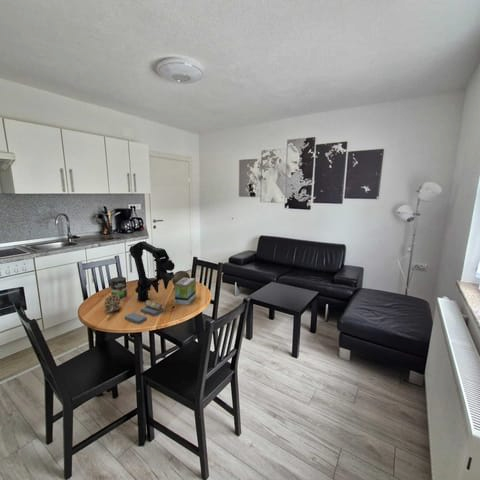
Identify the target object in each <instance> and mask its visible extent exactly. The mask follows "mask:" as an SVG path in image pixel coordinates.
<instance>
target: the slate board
mask: <svg viewBox="0 0 480 480" xmlns="http://www.w3.org/2000/svg"><path fill="white" fill-rule="evenodd" d="M139 310H140V313H143V314H145V315H148V316H152V317H156V316H158V315H159V314H161V313H163V312H164V311H165V308H164V307H162V308H161V309H160V310H157V309H153V308H150V307H147V306H144V307H141V308H139ZM145 315H142V314H138V313H136V312H131V313H128V314H127V315H124V320H125V321H128V322H131V323H134V324H137V325H141V324H142V323H144V322H147V321H148V318H147V316H145Z"/></svg>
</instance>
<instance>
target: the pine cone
mask: <svg viewBox="0 0 480 480" xmlns="http://www.w3.org/2000/svg"><path fill="white" fill-rule="evenodd" d="M119 298H120V297H119V295H118V296H117V294H114V295H113V294H112V295H111V294H110V295H108V296H107V297H106V298H105V301H104V308H105V310H106V312H105V313H106V314H110V313H113V312H116V311H117V310H118V309H119V308H120V306H121V301H122V300H121V299H119Z"/></svg>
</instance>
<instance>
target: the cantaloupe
mask: <svg viewBox="0 0 480 480" xmlns="http://www.w3.org/2000/svg"><path fill="white" fill-rule="evenodd" d="M182 278H191V276H190V274H189V273H188V272H187V271H184V270H179V271H176V272H174V278H172V280H171V282H172V284H173V286H174V287H175V283H177V282H178V281H179V280H181V279H182Z"/></svg>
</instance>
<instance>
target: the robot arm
mask: <svg viewBox="0 0 480 480" xmlns="http://www.w3.org/2000/svg"><path fill="white" fill-rule="evenodd" d="M144 250H145V251H146V252H148V253H149V254H151V255H152V257H153V258H154V259H153V262H155V269H154V272H155V273H156V275H155V276H154V277H153V278H152V277H151V278H148V277H147V274H146V270H145V266H144V262H143V261H144V260H143V255H144ZM128 251H129V254H130V256H131V257H132V258H133V260H134V264H135V269H136V272H137V276H138V280H137V283H136V284H137V286H136V287H135V289H134V290H135V293H137V299H136V301H138V302H142V303H145V302H146V301H147V300H151V297H149V291H151V287H153V289H154V291H155V292H156V294H159V285H160V283H159V281H163V287H164V290H167V289H168V285H169V282H170V281H172V278H174V274H175V272H173V270H174V269H175V267H176V266H175V262H173V260H172V259H171V258H170V257H169V255H168V253H167V251H166V249H165V248H161V247H155V246H154V245H152V244H150V243H148V242H147V241H138V242H137V243H136V244H134V245H131V246H130V248H128Z"/></svg>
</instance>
